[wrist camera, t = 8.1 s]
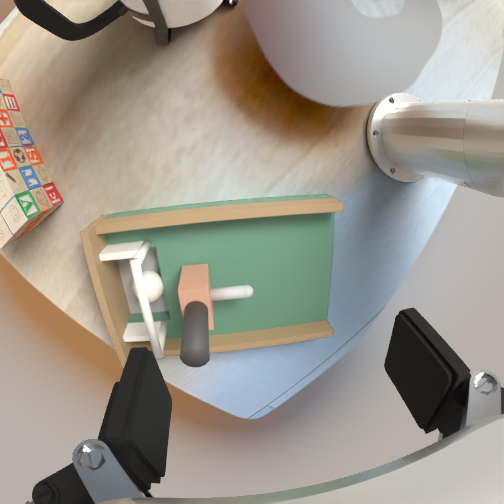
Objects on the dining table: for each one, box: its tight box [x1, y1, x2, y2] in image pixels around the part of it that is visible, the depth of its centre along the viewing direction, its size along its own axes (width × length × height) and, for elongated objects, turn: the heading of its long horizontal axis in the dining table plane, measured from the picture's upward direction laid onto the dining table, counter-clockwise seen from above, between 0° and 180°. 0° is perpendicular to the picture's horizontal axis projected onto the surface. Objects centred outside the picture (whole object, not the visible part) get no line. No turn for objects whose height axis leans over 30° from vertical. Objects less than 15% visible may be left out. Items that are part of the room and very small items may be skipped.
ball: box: [132, 270, 164, 303], centre depth 34 cm, size 4×4×4 cm
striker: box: [178, 263, 253, 367], centre depth 28 cm, size 8×5×13 cm, turn 93°
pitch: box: [80, 194, 343, 367], centre depth 33 cm, size 28×18×9 cm, turn 93°
